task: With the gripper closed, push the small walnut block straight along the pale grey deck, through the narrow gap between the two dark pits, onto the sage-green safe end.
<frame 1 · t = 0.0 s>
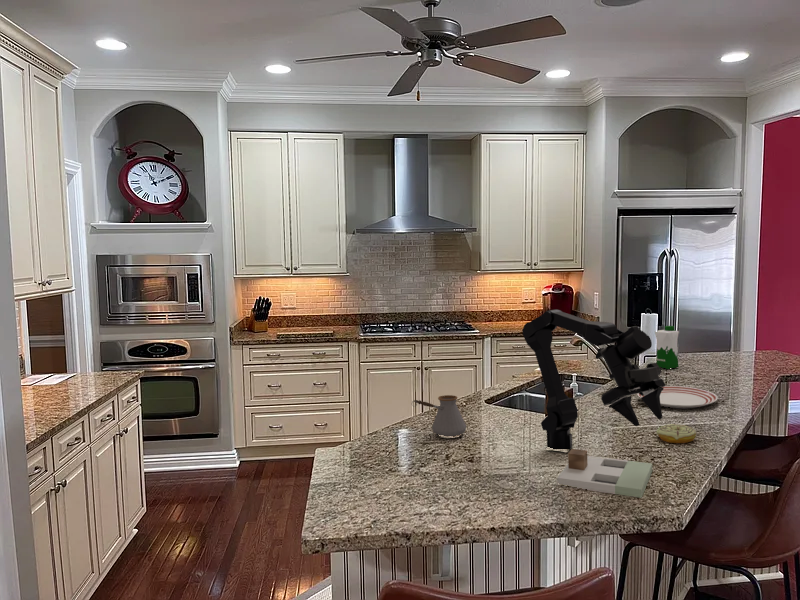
hand: (649, 422, 149), 15 cm above the worktop, tool tilted 35°, fingers open, 9 cm apart
dinner plate: (676, 403, 223), on the worktop
coffee pot: (439, 439, 193), on the worktop
trap deck: (605, 477, 153), on the worktop
decorated donut: (676, 440, 181), on the worktop
milk carton: (667, 368, 284), on the worktop
walnut block: (578, 466, 156), point 2 cm above the worktop, touching trap deck
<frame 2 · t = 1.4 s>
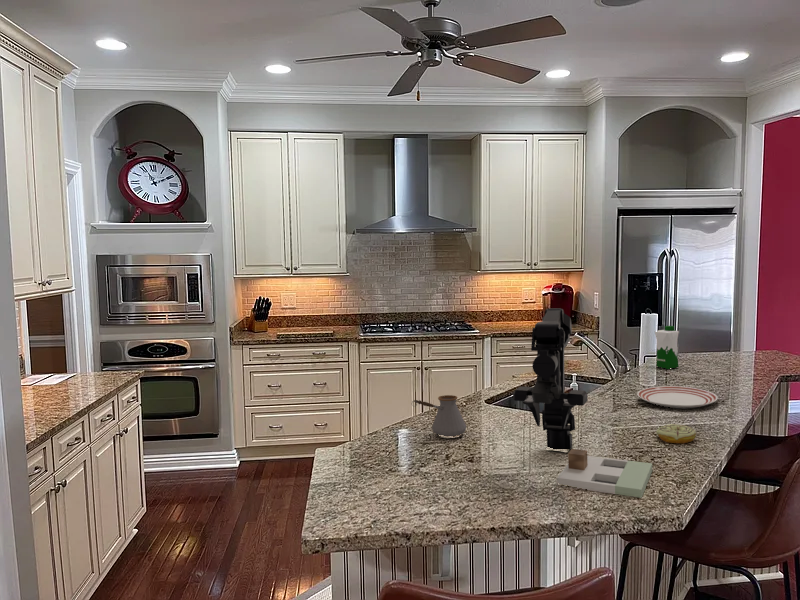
hand: (550, 427, 159), 12 cm above the worktop, tool pointing down, fingers open, 6 cm apart
nothing on the worktop moved.
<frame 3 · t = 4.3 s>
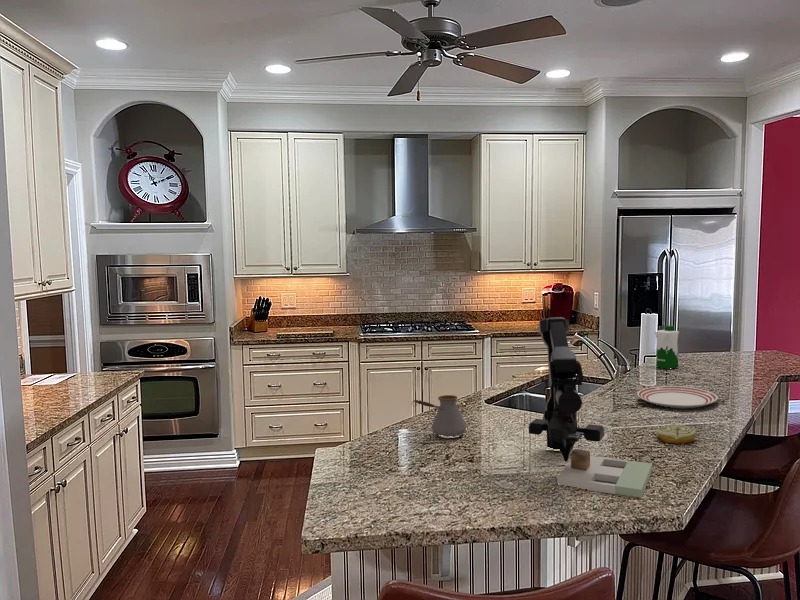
hand: (566, 461, 158), 3 cm above the worktop, tool pointing down, fingers closed
walnut block: (580, 467, 156), point 2 cm above the worktop, touching gripper
everything else where it was.
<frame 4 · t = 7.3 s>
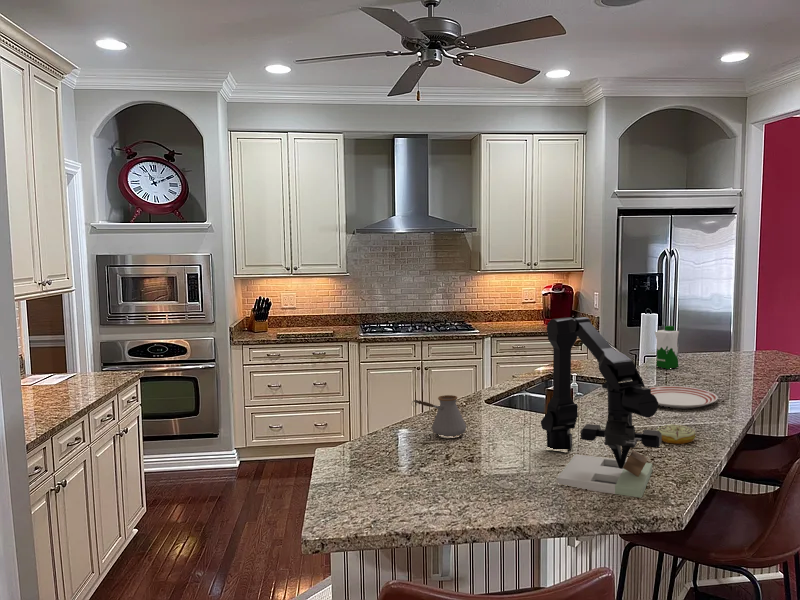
hand: (621, 468, 151), 3 cm above the worktop, tool pointing down, fingers closed
walnut block: (631, 469, 150), point 3 cm above the worktop, tilted 27°, touching gripper
everything else where it was.
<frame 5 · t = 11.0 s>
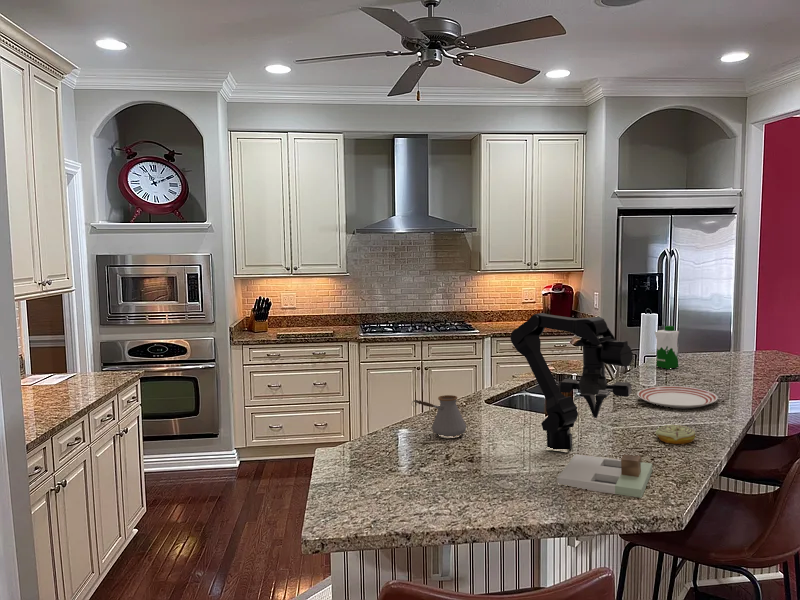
hand: (595, 417, 166), 12 cm above the worktop, tool pointing down, fingers closed
walnut block: (631, 473, 150), point 2 cm above the worktop, touching trap deck
everything else where it was.
at the end: walnut block 1.6 cm from the target spot, point 2.0 cm above the worktop; walnut block tilted 0°; the gripper is holding nothing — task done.
